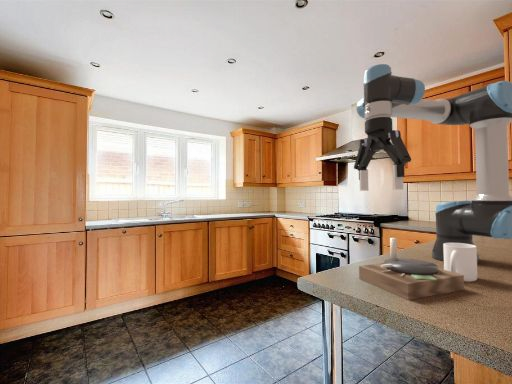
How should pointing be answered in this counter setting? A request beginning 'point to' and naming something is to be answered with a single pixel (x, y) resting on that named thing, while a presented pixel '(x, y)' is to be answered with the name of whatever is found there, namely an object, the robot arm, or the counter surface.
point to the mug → (461, 260)
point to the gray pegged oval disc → (407, 263)
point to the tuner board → (411, 281)
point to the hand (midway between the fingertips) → (379, 190)
